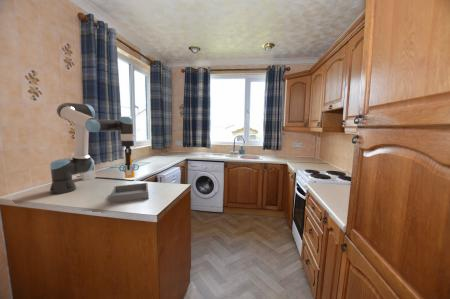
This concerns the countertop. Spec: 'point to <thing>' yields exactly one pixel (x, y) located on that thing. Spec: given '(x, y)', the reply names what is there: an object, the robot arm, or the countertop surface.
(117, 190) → the bin
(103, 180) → the countertop surface
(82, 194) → the countertop surface
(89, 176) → the clear glass vessel
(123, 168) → the orange toy
